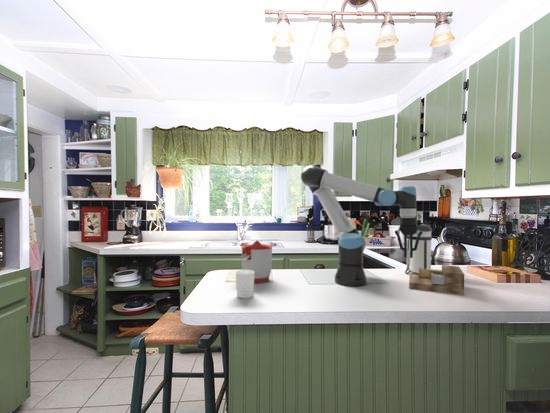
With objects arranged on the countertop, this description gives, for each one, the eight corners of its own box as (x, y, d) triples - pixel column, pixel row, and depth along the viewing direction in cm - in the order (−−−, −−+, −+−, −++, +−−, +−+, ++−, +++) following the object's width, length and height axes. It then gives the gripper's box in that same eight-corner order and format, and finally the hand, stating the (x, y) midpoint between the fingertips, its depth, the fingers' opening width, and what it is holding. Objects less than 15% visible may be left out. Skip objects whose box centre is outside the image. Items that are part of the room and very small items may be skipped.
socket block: (409, 288, 127) (409, 268, 127) (409, 279, 142) (409, 262, 142) (464, 295, 118) (464, 274, 118) (458, 284, 133) (458, 266, 133)
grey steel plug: (431, 283, 124) (431, 275, 124) (430, 281, 128) (430, 273, 128) (460, 287, 119) (460, 278, 119) (459, 284, 123) (459, 275, 123)
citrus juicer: (232, 281, 138) (232, 240, 138) (256, 274, 151) (256, 237, 151) (254, 287, 128) (254, 244, 128) (278, 279, 141) (278, 240, 141)
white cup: (239, 300, 111) (239, 275, 111) (232, 294, 118) (233, 270, 118) (257, 297, 115) (257, 272, 115) (250, 291, 122) (250, 268, 122)
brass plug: (418, 276, 136) (418, 268, 136) (418, 274, 140) (418, 267, 140) (445, 279, 131) (445, 271, 131) (444, 277, 135) (444, 269, 135)
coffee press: (441, 277, 147) (442, 220, 147) (411, 277, 147) (411, 220, 147) (424, 269, 164) (425, 218, 164) (397, 269, 164) (397, 218, 164)
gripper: (393, 217, 139) (394, 264, 140) (422, 217, 134) (423, 266, 134) (394, 216, 146) (395, 261, 146) (422, 216, 140) (423, 263, 140)
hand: (408, 264), depth 140 cm, fingers closed
